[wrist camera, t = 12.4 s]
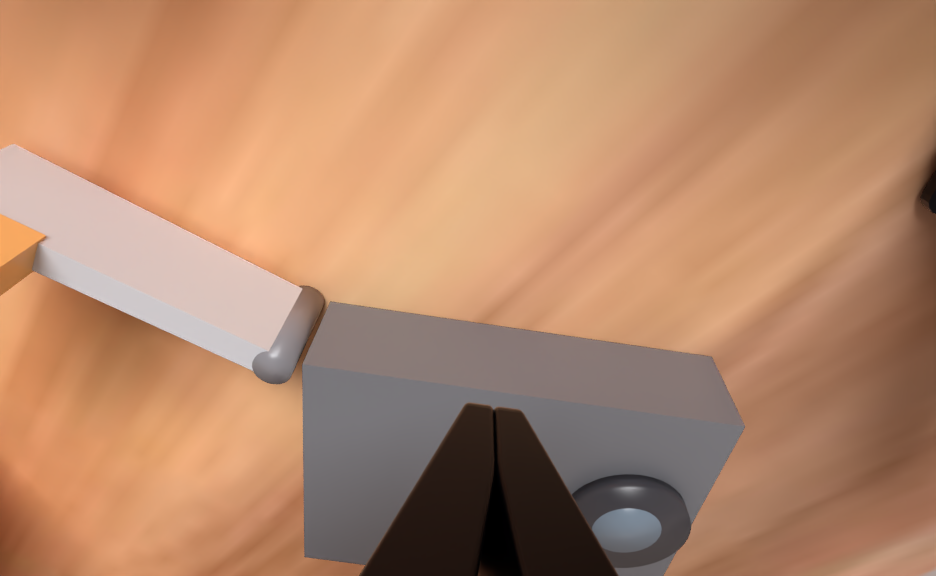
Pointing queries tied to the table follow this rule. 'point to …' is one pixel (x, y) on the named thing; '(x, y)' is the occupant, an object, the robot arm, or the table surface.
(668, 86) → the table surface
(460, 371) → the box with round button
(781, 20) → the table surface
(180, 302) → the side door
